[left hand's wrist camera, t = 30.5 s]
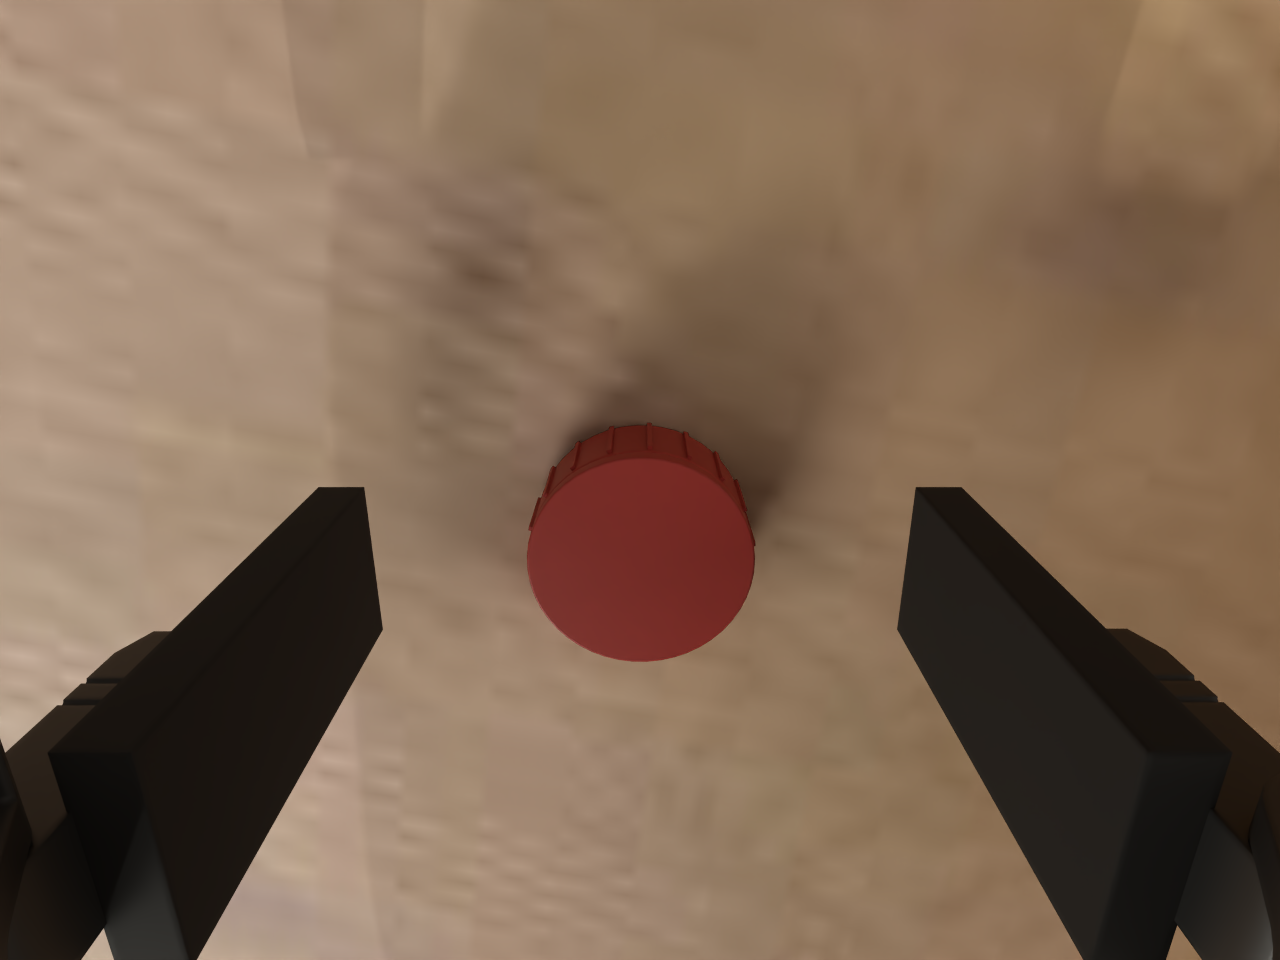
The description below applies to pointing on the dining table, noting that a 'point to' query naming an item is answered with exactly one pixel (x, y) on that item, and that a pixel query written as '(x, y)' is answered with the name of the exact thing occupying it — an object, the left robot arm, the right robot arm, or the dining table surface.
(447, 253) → the dining table surface
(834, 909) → the dining table surface
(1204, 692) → the left robot arm
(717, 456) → the cap
